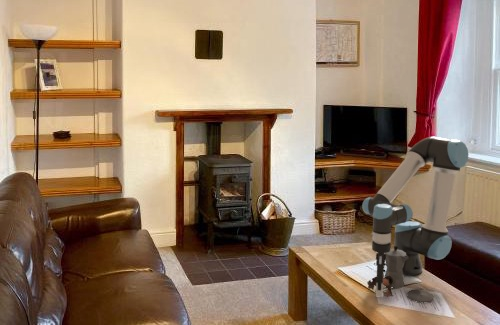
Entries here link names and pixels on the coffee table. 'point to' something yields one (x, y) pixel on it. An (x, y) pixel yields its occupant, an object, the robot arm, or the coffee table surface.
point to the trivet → (420, 295)
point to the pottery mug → (385, 283)
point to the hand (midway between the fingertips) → (379, 291)
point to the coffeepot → (395, 266)
